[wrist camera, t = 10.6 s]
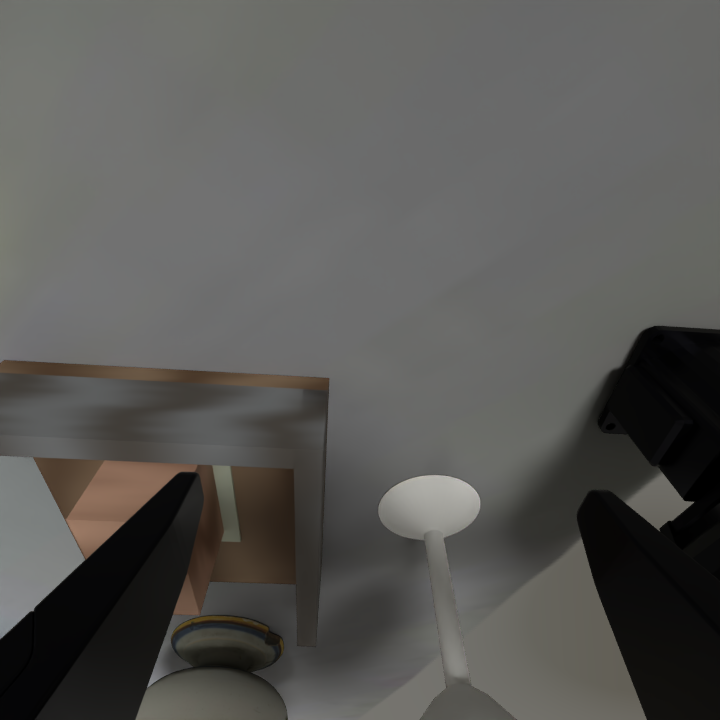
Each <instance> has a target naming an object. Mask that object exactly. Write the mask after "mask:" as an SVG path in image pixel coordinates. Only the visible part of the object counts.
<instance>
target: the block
mask: <svg viewBox="0 0 720 720" xmlns="http://www.w3.org/2000/svg"><path fill="white" fill-rule="evenodd" d="M179 472H197V473H198V474H199V475H200V479H201V484H202V489H203V494H204V504H203V509H202V513H201V518H200V522H199V526H198V530H197V535H196V539H195V543H194V547H193V551H192V556H191V560H190V564H189V568H188V572H187V575H186V578H185V581H184V584H183V587H182V590H181V593H180V596H179V598H178V601H177V604H176V607H175V610H174V613H173V614H174V615H200V613H201V609H202V606H203V602H204V599H205V596H206V592H207V589H208V585H209V582H210V578H211V575H212V571H213V568H214V565H215V561H216V558H217V554H218V551H219V547H220V544H221V540H222V537H223V534H224V528H223V522H222V517H221V511H220V506H219V500H218V495H217V489H216V483H215V478H214V472H213V467H212V465H196V464H174V463H152V462H130V461H107V460H105V461H104V462H103V464H102V465H101V467H100V468H99V470H98V471H97V473H96V474H95V476H94V477H93V479H92V480H91V482H90V483H89V485H88V487H87V488H86V490H85V491H84V493H83V494H82V496H81V497H80V499H79V500H78V502H77V503H76V505H75V506H74V508H73V509H72V511H71V513H70V514H69V516H68V517H67V519H66V521H67V523H68V525H69V527H70V529H71V531H72V533H73V535H74V537H75V539H76V540H77V542H78V544H79V546H80V548H81V550H82V552H83V554H84V556H85V558H86V559H87V558H88V557H89V556H90V555H91V554H92V553H93V552H94V551H95V550H96V549H98V548H99V547H100V546H101V545H102V544H103V543H104V542H105V541H106V540H107V539H108V538H109V537H110V536H111V535H112V534H113V533H115V532H116V531H117V530H118V529H119V528H120V527H121V526H122V525H123V524H124V523H125V522H126V521H127V520H128V519H129V518H130V517H132V516H133V515H134V514H135V513H136V512H137V511H138V510H139V509H140V508H141V507H142V506H143V505H144V504H145V503H146V502H148V501H149V500H150V499H151V498H152V497H153V496H154V495H155V494H156V493H157V492H158V491H159V490H160V489H161V488H162V487H163V486H165V485H166V484H167V483H168V482H169V481H170V480H171V479H172V478H173V477H174V476H175V475H176V474H178V473H179Z"/></svg>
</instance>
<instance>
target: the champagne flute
mask: <svg viewBox="0 0 720 720" xmlns="http://www.w3.org/2000/svg"><path fill="white" fill-rule="evenodd" d="M480 507H481V506H480V498H479V495H478V493H477V492H476V491H475V489H474V488H473V487H471V486H470V485H469V484H468V483H466V482H464V481H462V480H460V479H457V478H453V477H450V476H442V475H427V476H419V477H415V478H411V479H408V480H406V481H403V482H401V483H399V484H397V485H396V486H394V487H392V488H391V489H390V490H389V491H388V492H387V493H385V495H384V496H383V498H382V499H381V501H380V504H379V506H378V514H379V518H380V520H381V522H382V523H383V525H384V526H385V527H386V528H387V529H389V530H390V531H392V532H393V533H395V534H397V535H400V536H402V537H406V538H410V539H418V540H425V547H426V554H427V560H428V567H429V574H430V581H431V587H432V594H433V601H434V608H435V615H436V621H437V628H438V635H439V642H440V649H441V655H442V662H443V668H444V675H445V683H446V689H445V690H444V691H442V692H441V693H440V694H439V695H438V696H437V697H435V698H434V700H433V701H432V702H431V704H430V705H429V707H428V708H427V710H426V711H425V713H424V714H423V716H422V717H421V719H420V720H517V719H515V718H514V717H513V716H512V715H511V714H510V713H509V712H507V711H506V710H505V709H504V708H503V707H502V706H500V705H499V704H498V703H497V702H496V701H495V700H493V699H492V698H491V697H490V696H489V695H487V694H486V693H484V692H482V691H480V690H478V689H476V688H474V687H472V686H471V680H470V675H469V670H468V664H467V659H466V654H465V649H464V643H463V638H462V633H461V627H460V622H459V617H458V612H457V606H456V601H455V596H454V590H453V585H452V580H451V575H450V569H449V564H448V559H447V553H446V548H445V543H444V538H445V537H448V536H450V535H453V534H455V533H457V532H459V531H461V530H463V529H465V528H466V527H467V526H469V525H470V524H471V523H472V522H473V521H474V520H475V518H476V517H477V515H478V513H479V510H480Z"/></svg>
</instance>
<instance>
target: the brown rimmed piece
mask: <svg viewBox="0 0 720 720" xmlns="http://www.w3.org/2000/svg"><path fill="white" fill-rule="evenodd" d="M328 396H329V378H316V377H298V376H280V375H262V374H244V373H225V372H207V371H189V370H171V369H153V368H135V367H117V366H99V365H81V364H63V363H45V362H27V361H9V360H4V361H3V362H1V363H0V456H18V457H33V458H34V460H35V462H36V464H37V466H38V468H39V470H40V472H41V474H42V476H43V478H44V480H45V482H46V484H47V486H48V488H49V489H50V491H51V493H52V495H53V497H54V499H55V501H56V503H57V505H58V507H59V509H60V511H61V513H62V515H63V517H64V519H65V521H66V519H67V517H68V516H69V514H70V513H71V511H72V509H73V508H74V506H75V505H76V503H77V502H78V500H79V499H80V497H81V496H82V494H83V493H84V491H85V490H86V488H87V487H88V485H89V483H90V482H91V480H92V479H93V477H94V476H95V474H96V473H97V471H98V470H99V468H100V467H101V465H102V464H103V462H104V461H105V460H107V461H130V462H152V463H174V464H196V465H212V467H213V472H214V478H215V483H216V489H217V495H218V500H219V506H220V511H221V517H222V522H223V528H224V534H223V537H222V540H221V544H220V547H219V551H218V554H217V558H216V561H215V565H214V568H213V571H212V575H211V578H210V582H241V583H272V584H296V604H297V646H309V647H316V638H317V623H318V609H319V595H320V581H321V564H322V540H323V516H324V492H325V468H326V444H327V420H328ZM66 523H67V521H66ZM67 525H68V523H67ZM68 527H69V525H68ZM69 529H70V527H69ZM70 531H71V529H70ZM71 533H72V531H71ZM72 535H73V533H72ZM73 536H74V535H73ZM74 538H75V537H74ZM75 540H76V539H75ZM76 542H77V540H76ZM77 544H78V542H77ZM78 546H79V544H78ZM79 548H80V546H79ZM80 550H81V548H80ZM81 552H82V550H81ZM82 554H83V552H82ZM83 556H84V554H83ZM84 558H85V556H84ZM85 560H86V558H85Z"/></svg>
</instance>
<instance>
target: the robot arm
mask: <svg viewBox="0 0 720 720" xmlns="http://www.w3.org/2000/svg"><path fill="white" fill-rule="evenodd" d="M657 335H659V336H658V337H657V338H655V339H654V337H655V336H657ZM598 426H599V428H600V429H601V431H602V432H604V433H609V434H628V435H629V437H630V438H631V439H632V441H633V442H634V443H635V445H636V446H637V447H638V448H639V450H640V451H641V452H642V454H643V455H644V456H645V458H646V459H647V460H648V462H649V463H650V464H651V465H652V466H658V467H659V469H660V470H661V471H662V472H663V474H664V475H665V476H666V478H667V479H668V480H669V481H670V483H671V484H672V485H673V486H674V488H675V489H676V490H677V492H678V493H679V494H680V496H681V497H682V498H683V500H684V501H691V502H692V501H693V502H694V503H693V504H692V505H691V506H690V507H688V508H687V509H686V510H685V511H684V512H682V513H681V514H680V515H679V516H678V517H676V518H675V519H674V520H673V521H668V522H667V523H665V524H664V525H663V526H662V527H661V528H660V531H658V530H657V529H656V528H655V527H654V526H652V525H651V524H650V523H649V522H647V521H646V520H645V519H644V518H643V517H641V516H640V515H639V514H638V513H636V512H635V511H634V510H633V509H632V508H630V507H629V506H628V505H627V504H626V503H624V502H623V501H622V500H621V499H619V498H618V497H617V496H616V495H615V494H613V493H612V492H610V491H608V490H591V491H589V492H588V493H587V495H586V497H585V499H584V500H583V502H582V504H581V506H580V507H579V509H578V511H577V522H578V526H579V529H580V533H581V537H582V540H583V544H584V547H585V551H586V555H587V558H588V562H589V566H590V569H591V573H592V576H593V579H594V583H595V586H596V589H597V591H598V594H599V597H600V599H601V602H602V605H603V607H604V610H605V613H606V615H607V618H608V620H609V623H610V625H611V628H612V631H613V633H614V636H615V638H616V641H617V644H618V646H619V649H620V651H621V654H622V656H623V659H624V662H625V664H626V667H627V669H628V672H629V675H630V677H631V680H632V682H633V685H634V687H635V690H636V693H637V695H638V698H639V700H640V703H641V705H642V708H643V711H644V713H645V716H646V718H647V720H720V330H716V329H701V328H685V327H669V326H653V327H651V328H649V329H648V330H646V331H645V333H644V334H643V336H642V338H641V340H640V342H639V343H638V345H637V347H636V349H635V351H634V353H633V355H632V357H631V359H630V361H629V363H628V365H627V367H626V369H625V370H624V372H623V374H622V376H621V378H620V380H619V382H618V384H617V386H616V388H615V390H614V392H613V394H612V395H611V397H610V399H609V401H608V403H607V405H606V407H605V409H604V411H603V413H602V415H601V417H600V419H599V420H598ZM203 504H204V494H203V489H202V484H201V479H200V475H199V474H198V473H197V472H179V473H178V474H176V475H175V476H174V477H173V478H172V479H171V480H170V481H169V482H168V483H167V484H166V485H165V486H163V487H162V488H161V489H160V490H159V491H158V492H157V493H156V494H155V495H154V496H153V497H152V498H151V499H150V500H149V501H148V502H146V503H145V504H144V505H143V506H142V507H141V508H140V509H139V510H138V511H137V512H136V513H135V514H134V515H133V516H132V517H130V518H129V519H128V520H127V521H126V522H125V523H124V524H123V525H122V526H121V527H120V528H119V529H118V530H117V531H116V532H115V533H113V534H112V535H111V536H110V537H109V538H108V539H107V540H106V541H105V542H104V543H103V544H102V545H101V546H100V547H99V548H98V549H96V550H95V551H94V552H93V553H92V554H91V555H90V556H89V557H88V558H87V559H86V560H85V561H84V562H83V563H82V564H80V565H79V566H78V567H77V568H76V569H75V570H74V571H73V572H72V573H71V574H70V575H69V576H68V577H67V578H66V579H65V580H63V581H62V582H61V583H60V584H59V585H58V586H57V587H56V588H55V589H54V590H53V591H52V592H51V593H50V594H49V595H48V596H46V597H45V598H44V599H43V600H42V601H41V602H40V603H39V604H38V605H37V606H36V607H35V608H34V611H31V612H29V613H28V614H27V615H26V616H25V617H24V618H23V619H22V620H21V621H20V622H19V623H18V624H16V625H15V626H14V627H13V628H12V629H11V630H10V631H9V632H8V633H7V634H6V635H5V636H3V637H2V638H1V639H0V720H136V717H137V714H138V711H139V708H140V706H141V703H142V700H143V697H144V694H145V692H146V689H147V686H148V683H149V680H150V677H151V675H152V672H153V669H154V666H155V663H156V661H157V658H158V655H159V652H160V649H161V646H162V644H163V641H164V638H165V635H166V632H167V629H168V627H169V624H170V621H171V618H172V615H173V613H174V610H175V607H176V604H177V601H178V598H179V596H180V593H181V590H182V587H183V584H184V581H185V578H186V575H187V572H188V568H189V564H190V560H191V556H192V551H193V547H194V543H195V539H196V535H197V530H198V526H199V522H200V518H201V513H202V509H203Z"/></svg>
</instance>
